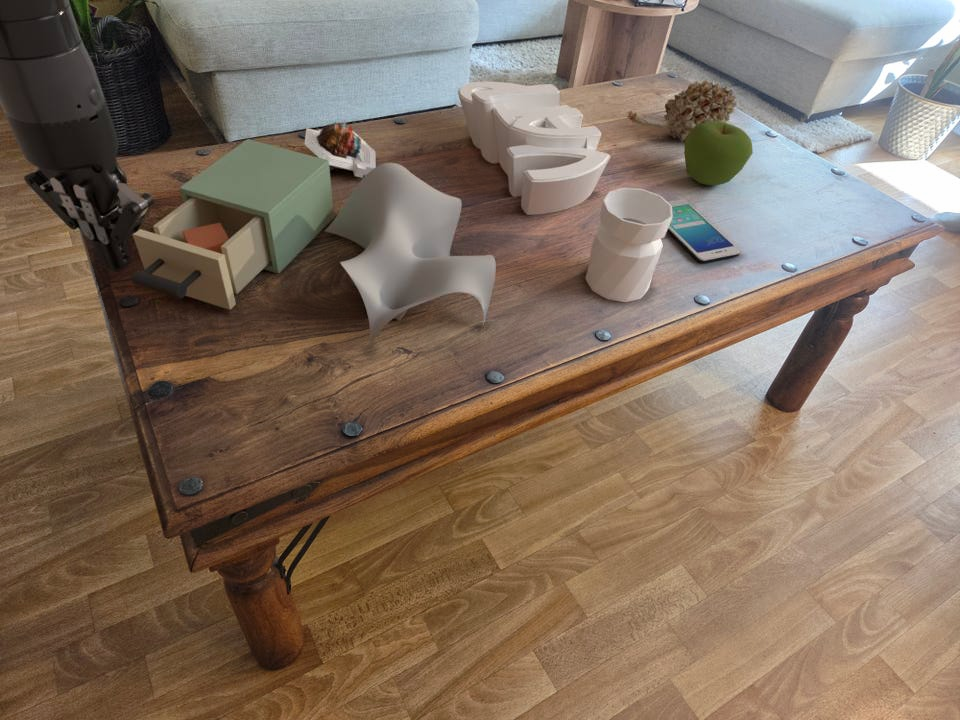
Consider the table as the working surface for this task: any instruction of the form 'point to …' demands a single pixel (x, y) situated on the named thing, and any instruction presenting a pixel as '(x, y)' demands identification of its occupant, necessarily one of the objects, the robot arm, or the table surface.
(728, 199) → the table surface
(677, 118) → the dried hydrangea flower
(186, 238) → the block
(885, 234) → the table surface
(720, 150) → the apple
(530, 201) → the wavy white extrusion
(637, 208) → the vase
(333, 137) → the mineral specimen
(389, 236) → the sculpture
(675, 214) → the smartphone
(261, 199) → the cabinet
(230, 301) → the drawer
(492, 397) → the table surface
